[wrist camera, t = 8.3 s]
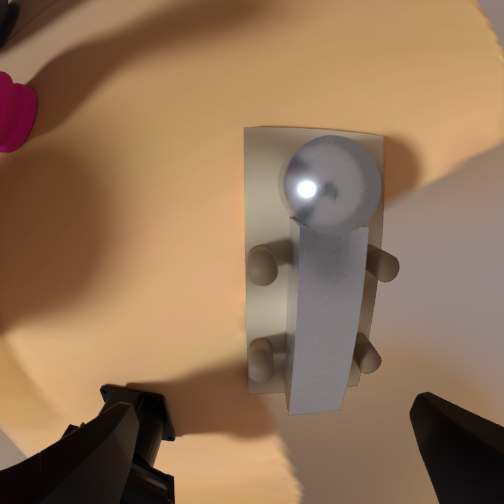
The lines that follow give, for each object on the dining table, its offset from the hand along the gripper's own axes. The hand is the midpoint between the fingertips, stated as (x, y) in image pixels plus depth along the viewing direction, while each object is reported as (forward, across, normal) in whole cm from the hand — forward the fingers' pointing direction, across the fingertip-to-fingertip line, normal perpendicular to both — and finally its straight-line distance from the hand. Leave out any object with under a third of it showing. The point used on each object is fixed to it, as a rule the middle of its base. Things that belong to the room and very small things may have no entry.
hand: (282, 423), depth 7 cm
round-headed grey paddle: (+11, -3, -1) cm, 12 cm away
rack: (+12, -3, -1) cm, 12 cm away
